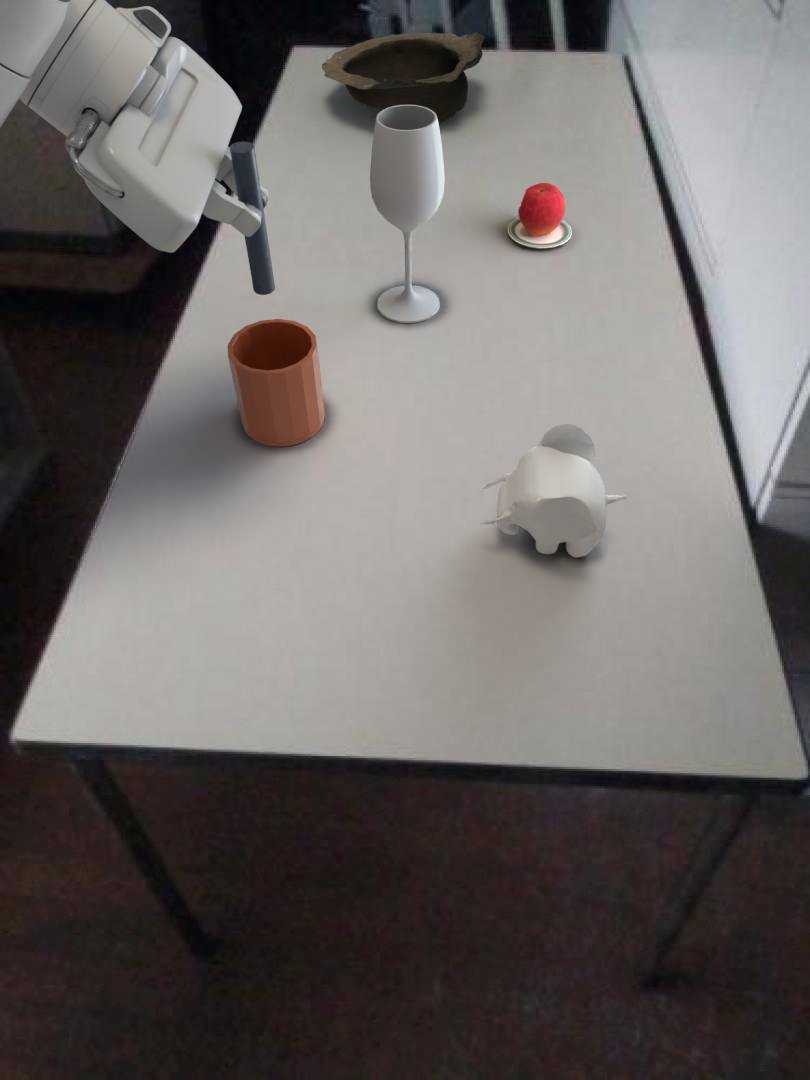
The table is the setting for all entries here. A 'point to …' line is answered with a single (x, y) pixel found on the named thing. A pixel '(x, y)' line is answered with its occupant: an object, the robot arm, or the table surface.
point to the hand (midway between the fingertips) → (260, 216)
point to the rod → (251, 191)
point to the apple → (541, 218)
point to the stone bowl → (408, 70)
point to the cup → (277, 381)
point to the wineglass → (407, 194)
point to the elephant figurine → (555, 494)
